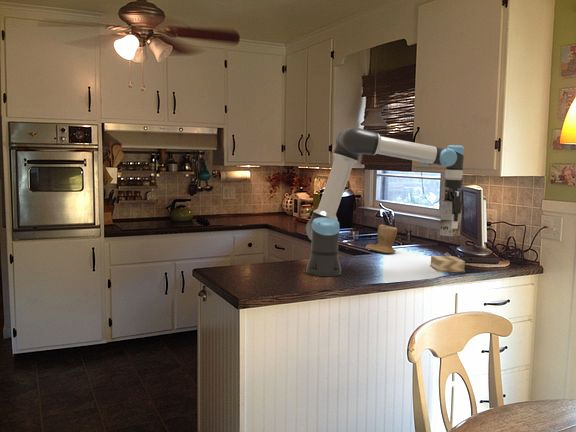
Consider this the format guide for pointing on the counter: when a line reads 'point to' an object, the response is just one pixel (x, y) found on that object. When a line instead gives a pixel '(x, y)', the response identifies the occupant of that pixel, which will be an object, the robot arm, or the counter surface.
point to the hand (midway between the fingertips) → (450, 226)
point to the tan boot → (384, 239)
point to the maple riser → (447, 264)
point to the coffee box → (449, 219)
